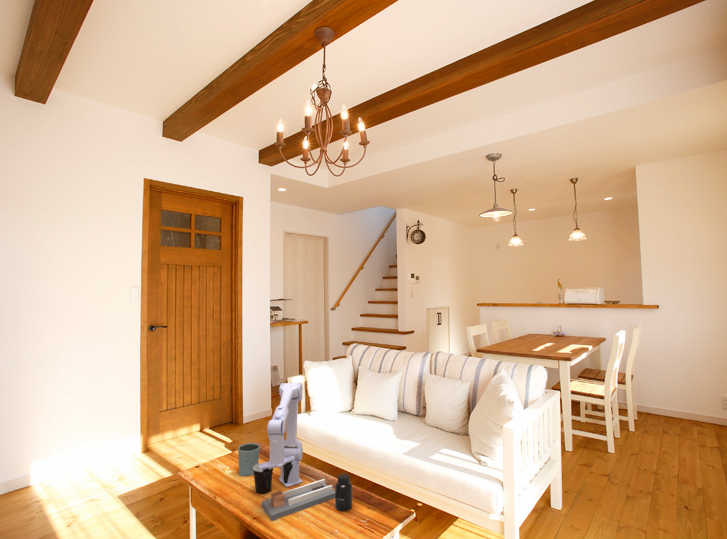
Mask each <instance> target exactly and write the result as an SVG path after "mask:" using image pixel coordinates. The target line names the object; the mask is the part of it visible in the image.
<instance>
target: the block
mask: <svg viewBox="0 0 727 539" xmlns="http://www.w3.org/2000/svg"><path fill="white" fill-rule="evenodd" d="M270 498H271V504H272V506H273V507H274V508H277V507H280V506H283V505H284V494H283V493H282V490H277V491H274V492H271V493H270Z"/></svg>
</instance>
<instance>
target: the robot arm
mask: <svg viewBox="0 0 727 539" xmlns="http://www.w3.org/2000/svg"><path fill="white" fill-rule="evenodd" d="M278 393H279V397H280V398H281V399H280V402H279V405H278V406H276V408H275V410H274V413H273V415H272V417H271V419H270V420H268V423H267V429H266V431H267V435H268V436H267V437H268V440H269V460H268V461H266V462H263V463H264V464H262V465H259V466H258V470H259V472H262V473H263V475H264V477H265V480H266V484H267V488H268V489H270V487H271V488H272V484H271V485H270V478H271V472H270V470H269V469H271V468H273V469H274V468H280V477H279V478H278V480H279V481H280V482H281V483H282V484H283V486H284V487H285V488H289V487H292V486H295V485H299V484H302V483H303V479H301V478H300V462H301V461H302V459H303V455H304V454H303V450H304V449H303V443H302V442H303V441H301V440H299V439H298V438H297V437H298V436H297V433H298V430H297V429H298V407H299V402H300V401H302V399H303V384H302V383H301V382H287V383H286V382H281V383H280V385H279V389H278ZM285 434H286V435H285Z"/></svg>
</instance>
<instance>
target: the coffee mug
mask: <svg viewBox="0 0 727 539" xmlns="http://www.w3.org/2000/svg"><path fill="white" fill-rule="evenodd" d="M264 463H265V462H260V463H258V464H257V465H255V466H254V467H253V472H254V475H253V478H254V489H255V493H256V494H257V495H266V494H268V493H270V492H271V491H272V482H273V473H274V468H271V469H269V470H270V472H271V478H270V485H271V487H270V489H268V488H267V484H266V480H265V477H264V475H263V473H262V472H259V470H258V466H259V465H262V464H264Z"/></svg>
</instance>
